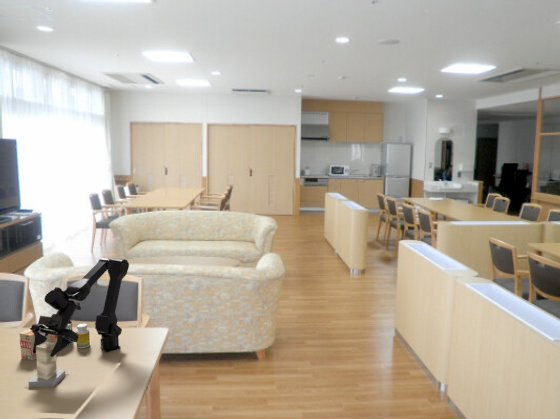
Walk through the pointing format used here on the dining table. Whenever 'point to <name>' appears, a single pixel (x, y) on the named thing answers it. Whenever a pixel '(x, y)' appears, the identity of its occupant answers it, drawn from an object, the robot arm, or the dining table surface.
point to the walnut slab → (48, 387)
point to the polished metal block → (45, 361)
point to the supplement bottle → (83, 336)
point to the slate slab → (49, 382)
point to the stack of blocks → (28, 343)
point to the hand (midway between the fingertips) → (42, 354)
